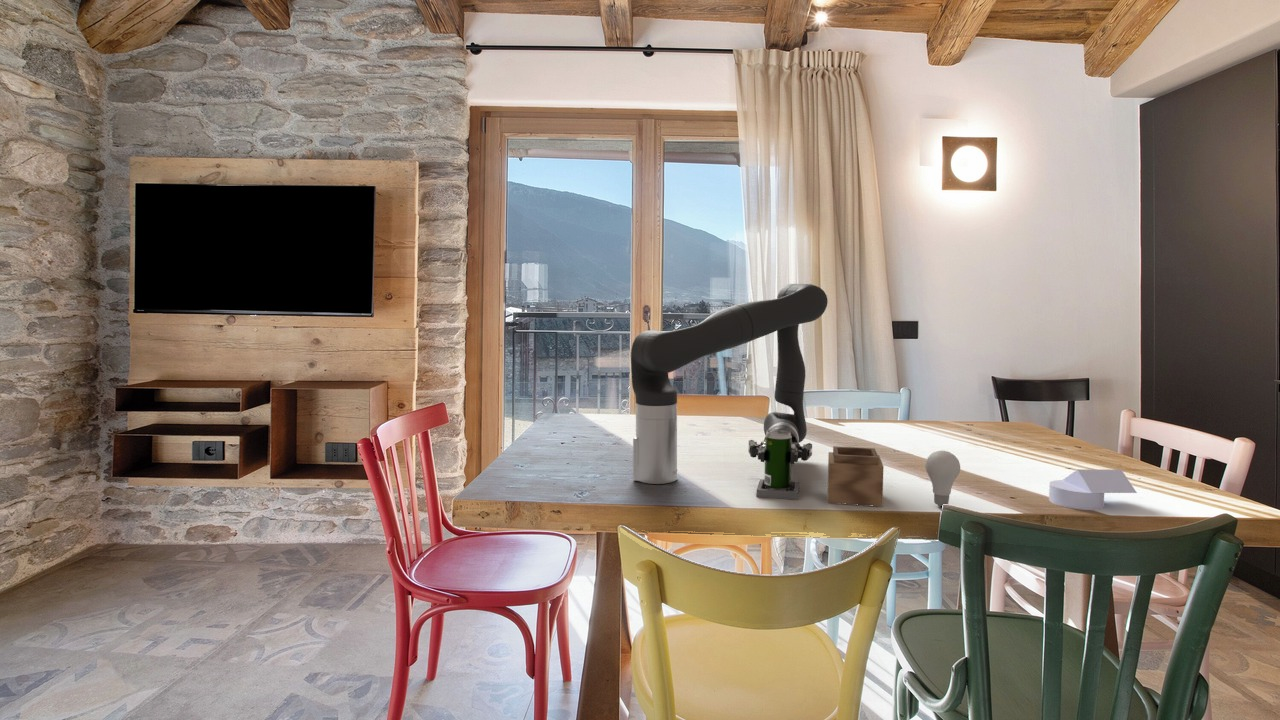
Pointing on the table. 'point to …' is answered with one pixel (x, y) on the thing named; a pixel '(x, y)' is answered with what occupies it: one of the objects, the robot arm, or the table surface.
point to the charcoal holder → (778, 491)
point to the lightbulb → (942, 474)
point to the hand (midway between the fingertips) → (777, 458)
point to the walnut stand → (855, 476)
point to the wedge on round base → (1088, 488)
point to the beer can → (778, 459)
